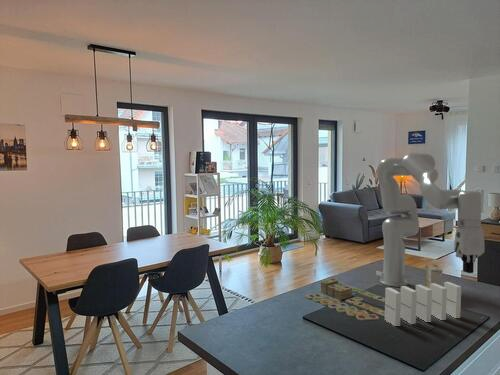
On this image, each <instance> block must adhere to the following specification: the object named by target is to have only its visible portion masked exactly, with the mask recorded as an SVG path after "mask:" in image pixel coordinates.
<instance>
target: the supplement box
mask: <svg viewBox="0 0 500 375" xmlns="http://www.w3.org/2000/svg"><path fill="white" fill-rule="evenodd" d="M431 283H435V284H438V285H440V286H443V269H442V268H441V267H440V266H439V265H437V264H425V285H424V286H425V287H427V288H429V289H430V284H431Z"/></svg>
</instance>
